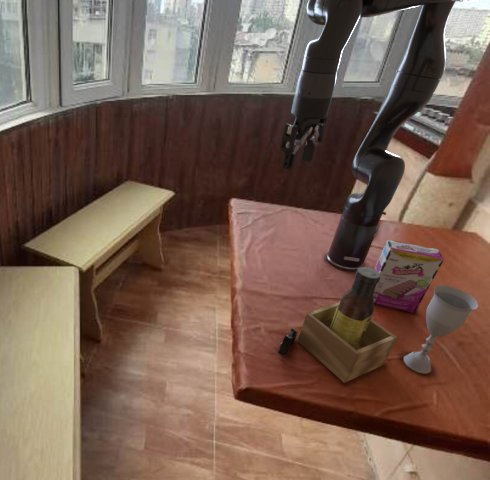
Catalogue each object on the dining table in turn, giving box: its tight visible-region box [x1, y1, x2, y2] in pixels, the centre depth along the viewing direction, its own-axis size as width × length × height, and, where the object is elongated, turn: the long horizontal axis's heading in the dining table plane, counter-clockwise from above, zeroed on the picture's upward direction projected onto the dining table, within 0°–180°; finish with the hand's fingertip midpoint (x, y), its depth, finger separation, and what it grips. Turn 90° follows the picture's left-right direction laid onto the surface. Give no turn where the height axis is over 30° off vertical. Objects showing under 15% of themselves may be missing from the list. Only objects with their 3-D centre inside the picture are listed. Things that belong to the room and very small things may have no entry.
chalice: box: [403, 284, 479, 375], centre depth 83 cm, size 7×7×18 cm
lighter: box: [277, 328, 299, 357], centre depth 89 cm, size 8×2×5 cm
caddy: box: [297, 301, 398, 384], centre depth 87 cm, size 12×13×8 cm
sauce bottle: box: [330, 266, 380, 350], centre depth 84 cm, size 6×6×20 cm
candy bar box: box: [373, 239, 445, 314], centre depth 101 cm, size 11×5×16 cm, turn 71°
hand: (296, 164), depth 98 cm, fingers open, 8 cm apart
